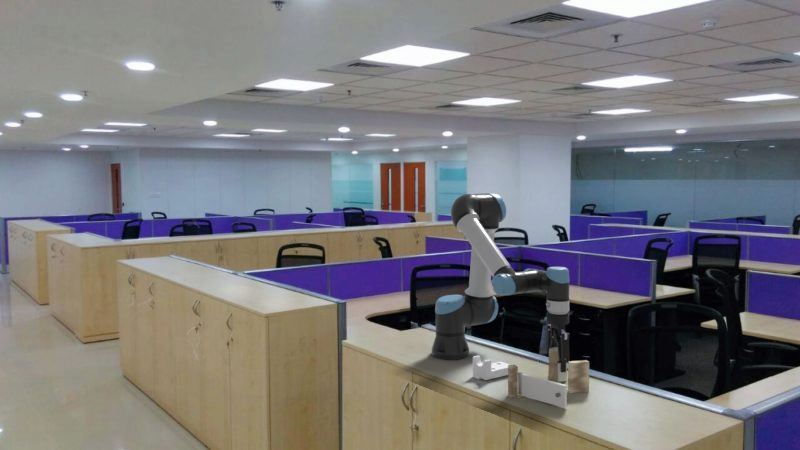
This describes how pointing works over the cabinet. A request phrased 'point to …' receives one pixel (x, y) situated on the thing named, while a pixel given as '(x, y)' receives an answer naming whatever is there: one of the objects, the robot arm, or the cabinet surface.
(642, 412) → the cabinet surface
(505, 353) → the cabinet surface
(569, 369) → the door frame
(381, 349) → the cabinet surface
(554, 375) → the box
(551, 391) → the door
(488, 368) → the bracket
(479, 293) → the robot arm
